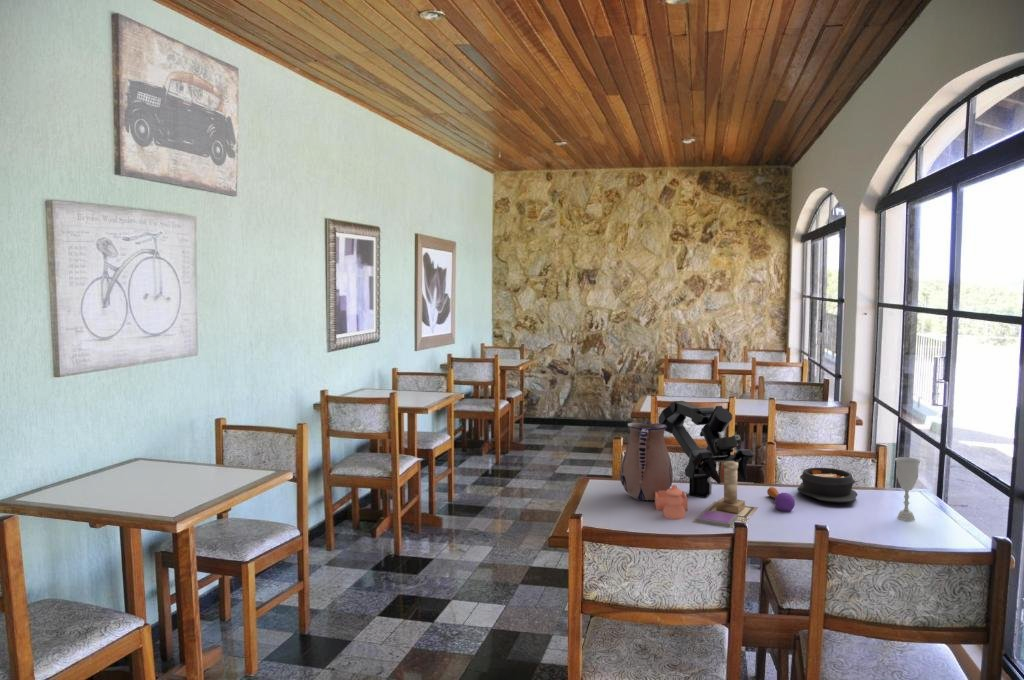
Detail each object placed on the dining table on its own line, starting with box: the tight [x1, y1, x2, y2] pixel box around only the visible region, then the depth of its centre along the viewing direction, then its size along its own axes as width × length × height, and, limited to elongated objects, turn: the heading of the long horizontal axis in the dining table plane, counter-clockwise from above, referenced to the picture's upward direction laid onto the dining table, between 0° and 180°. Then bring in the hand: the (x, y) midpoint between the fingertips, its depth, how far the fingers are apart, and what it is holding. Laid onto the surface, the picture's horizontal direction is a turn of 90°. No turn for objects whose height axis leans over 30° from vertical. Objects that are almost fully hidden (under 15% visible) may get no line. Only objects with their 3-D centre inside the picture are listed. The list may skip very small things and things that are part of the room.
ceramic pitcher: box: [619, 421, 674, 501], centre depth 244 cm, size 18×21×25 cm
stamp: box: [716, 461, 746, 514], centre depth 230 cm, size 7×7×15 cm
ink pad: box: [695, 509, 738, 528], centre depth 220 cm, size 10×10×1 cm
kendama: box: [766, 486, 796, 512], centre depth 237 cm, size 6×6×20 cm
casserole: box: [796, 467, 858, 503], centre depth 245 cm, size 25×19×8 cm
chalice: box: [894, 456, 921, 522], centre depth 221 cm, size 7×7×18 cm
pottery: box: [654, 484, 688, 520], centre depth 230 cm, size 18×10×10 cm, turn 173°
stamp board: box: [692, 501, 760, 529], centre depth 225 cm, size 14×25×1 cm, turn 149°
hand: (732, 481), depth 229 cm, fingers open, 9 cm apart
